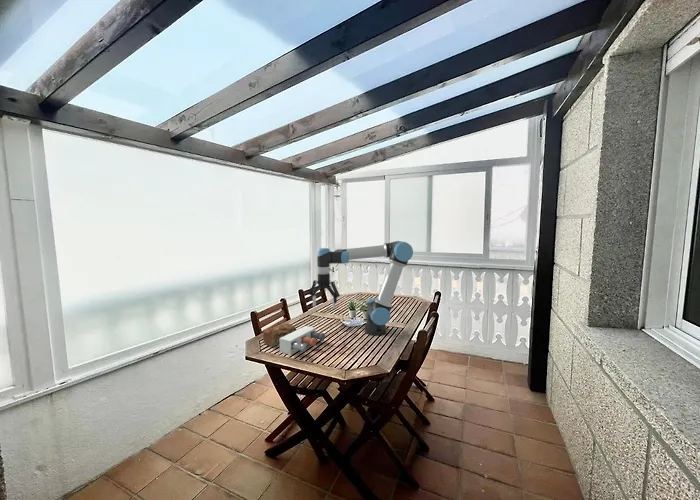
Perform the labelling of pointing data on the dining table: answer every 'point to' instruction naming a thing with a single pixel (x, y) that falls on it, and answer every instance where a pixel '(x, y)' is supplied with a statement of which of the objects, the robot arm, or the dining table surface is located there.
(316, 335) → the grey plug
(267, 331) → the bread
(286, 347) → the socket block
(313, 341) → the red plug
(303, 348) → the steel plug
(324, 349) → the dining table surface
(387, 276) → the robot arm
